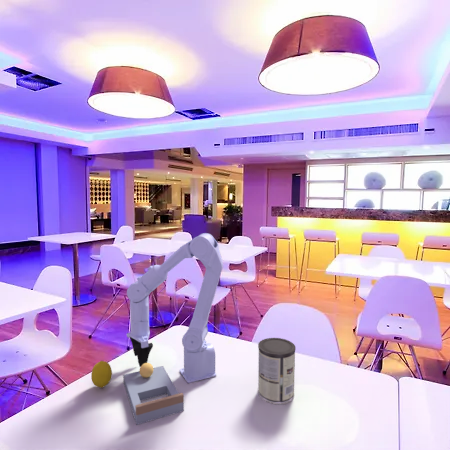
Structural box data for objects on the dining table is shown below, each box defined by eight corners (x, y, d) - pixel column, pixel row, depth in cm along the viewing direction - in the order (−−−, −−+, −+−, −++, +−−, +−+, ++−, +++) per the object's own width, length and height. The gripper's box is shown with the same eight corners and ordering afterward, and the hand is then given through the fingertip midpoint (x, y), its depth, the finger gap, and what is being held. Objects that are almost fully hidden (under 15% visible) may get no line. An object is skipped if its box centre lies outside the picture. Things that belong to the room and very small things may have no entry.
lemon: (105, 394, 90) (104, 367, 89) (87, 392, 91) (86, 364, 90) (115, 383, 95) (115, 357, 95) (99, 381, 97) (98, 355, 96)
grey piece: (163, 373, 101) (162, 359, 101) (183, 410, 83) (183, 394, 83) (123, 382, 96) (123, 368, 96) (136, 424, 78) (136, 407, 78)
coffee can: (263, 379, 98) (264, 334, 97) (297, 388, 94) (299, 341, 93) (252, 398, 89) (253, 349, 88) (289, 409, 84) (290, 357, 83)
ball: (151, 371, 97) (151, 359, 97) (154, 378, 94) (154, 365, 94) (138, 374, 96) (138, 362, 95) (141, 381, 92) (140, 368, 92)
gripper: (123, 313, 106) (123, 352, 107) (130, 329, 93) (131, 374, 94) (144, 310, 109) (145, 348, 110) (155, 325, 96) (155, 368, 97)
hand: (140, 360), depth 103 cm, fingers open, 7 cm apart
